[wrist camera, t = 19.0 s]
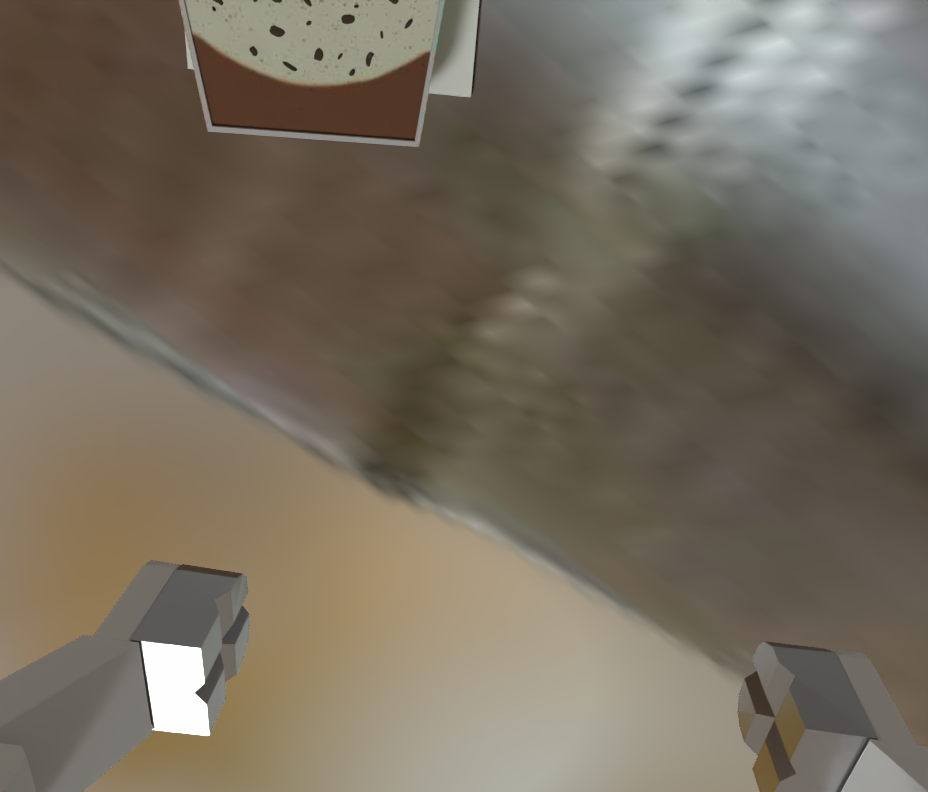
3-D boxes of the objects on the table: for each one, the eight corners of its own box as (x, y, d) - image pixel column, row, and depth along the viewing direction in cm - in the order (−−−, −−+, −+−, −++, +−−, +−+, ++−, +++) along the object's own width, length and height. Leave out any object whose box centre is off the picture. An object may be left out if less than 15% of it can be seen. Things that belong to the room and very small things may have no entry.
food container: (442, 106, 38) (462, -127, 31) (451, 149, 33) (477, -116, 27) (199, 86, 36) (169, -165, 30) (172, 128, 31) (129, -160, 25)
